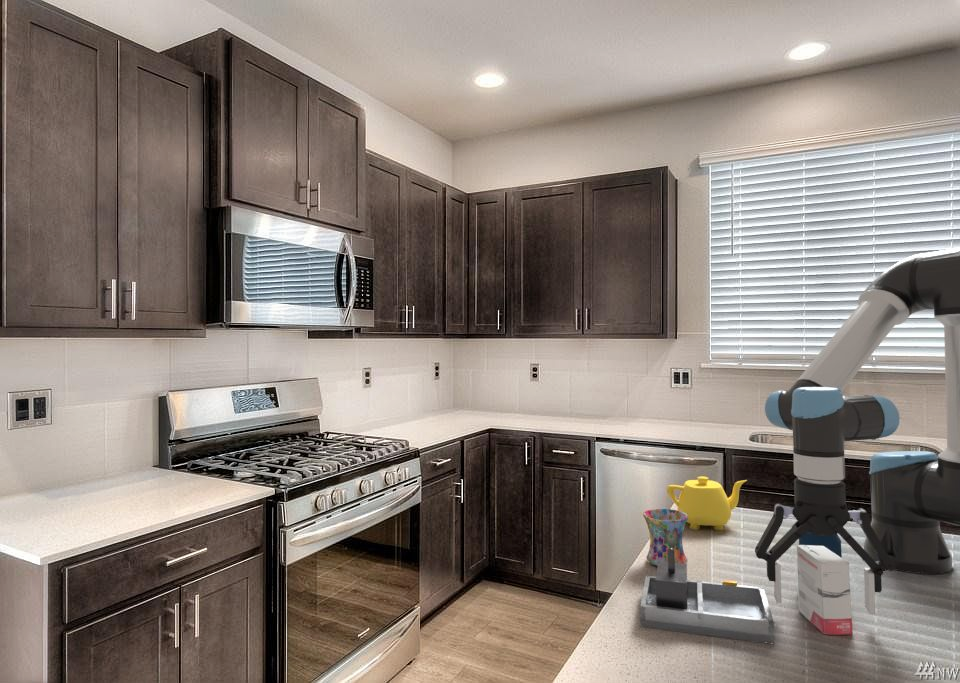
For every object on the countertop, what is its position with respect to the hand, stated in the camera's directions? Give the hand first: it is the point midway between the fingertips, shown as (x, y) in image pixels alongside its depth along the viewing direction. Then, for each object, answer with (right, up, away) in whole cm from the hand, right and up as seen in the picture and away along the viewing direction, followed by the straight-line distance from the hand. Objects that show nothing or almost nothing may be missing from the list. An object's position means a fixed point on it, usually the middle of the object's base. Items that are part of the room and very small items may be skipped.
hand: (823, 605), depth 97 cm
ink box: (0, -3, 0) cm, 3 cm away
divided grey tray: (-19, -4, +4) cm, 19 cm away
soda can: (+7, -3, +12) cm, 14 cm away
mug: (-17, -4, +30) cm, 34 cm away
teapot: (+2, -4, +54) cm, 54 cm away
